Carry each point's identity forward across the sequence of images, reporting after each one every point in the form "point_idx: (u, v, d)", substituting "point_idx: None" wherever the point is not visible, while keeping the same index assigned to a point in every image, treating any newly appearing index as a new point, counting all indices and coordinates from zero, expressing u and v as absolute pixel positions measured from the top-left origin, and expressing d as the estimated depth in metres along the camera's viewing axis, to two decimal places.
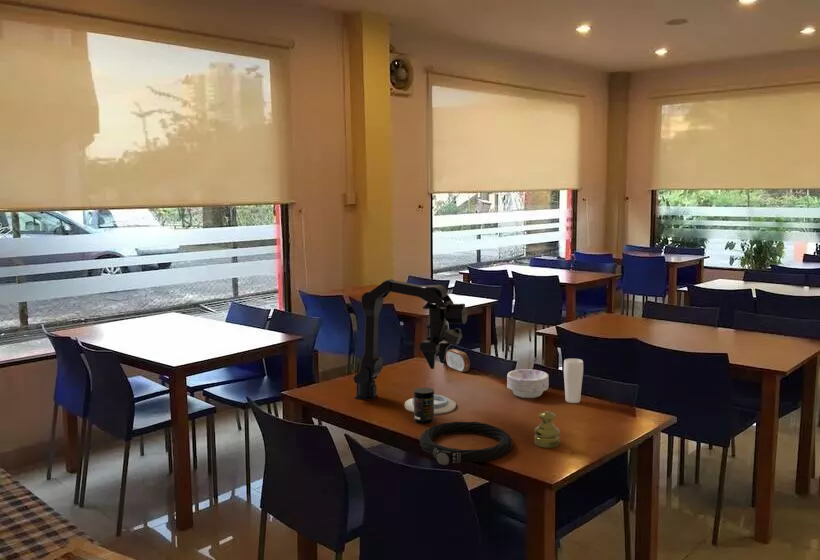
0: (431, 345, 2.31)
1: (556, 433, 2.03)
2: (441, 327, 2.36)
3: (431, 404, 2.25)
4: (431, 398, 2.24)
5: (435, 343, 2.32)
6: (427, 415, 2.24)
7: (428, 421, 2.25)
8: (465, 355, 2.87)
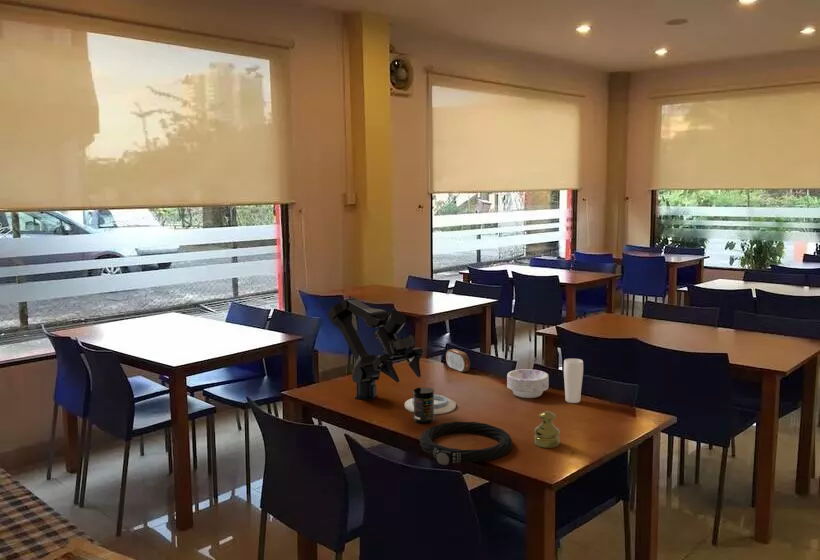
0: (377, 358, 2.30)
1: (556, 433, 2.03)
2: (389, 341, 2.36)
3: (431, 404, 2.25)
4: (431, 398, 2.24)
5: None
6: (427, 415, 2.24)
7: (428, 421, 2.25)
8: (465, 355, 2.87)
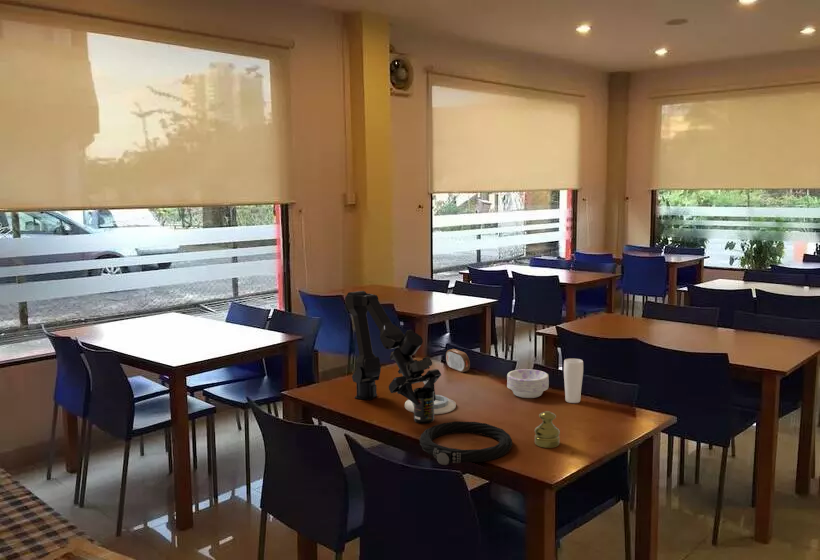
0: (393, 380, 2.23)
1: (556, 433, 2.03)
2: (405, 363, 2.29)
3: (431, 404, 2.25)
4: (431, 398, 2.24)
5: (398, 377, 2.24)
6: (427, 415, 2.24)
7: (428, 421, 2.25)
8: (465, 355, 2.87)
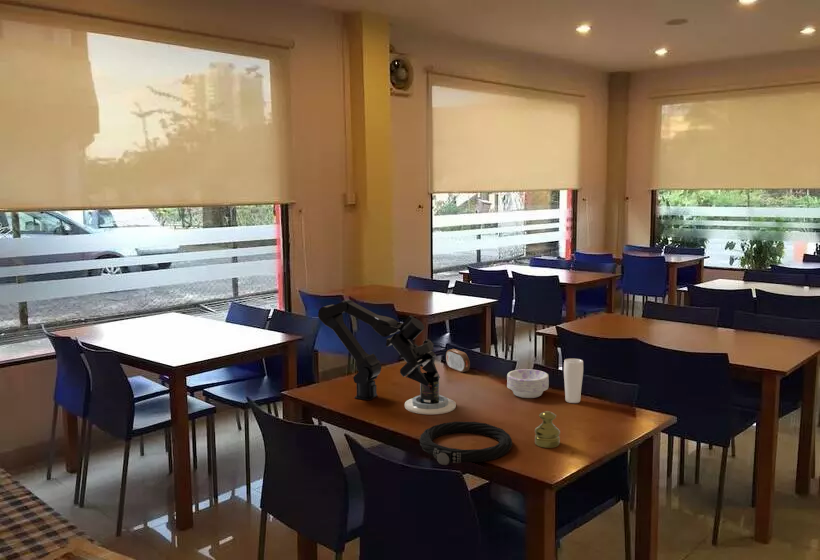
0: (407, 364, 2.34)
1: (556, 433, 2.03)
2: (409, 347, 2.41)
3: (438, 386, 2.41)
4: (438, 381, 2.41)
5: (410, 361, 2.35)
6: (436, 397, 2.40)
7: None
8: (465, 355, 2.87)
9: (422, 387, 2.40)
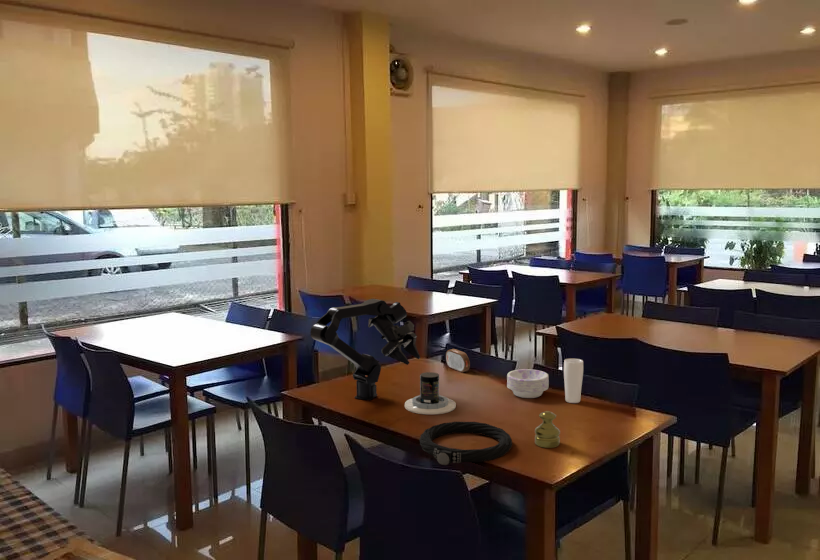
0: (389, 344, 2.45)
1: (556, 433, 2.03)
2: (390, 328, 2.52)
3: (438, 386, 2.41)
4: (438, 381, 2.41)
5: (391, 340, 2.46)
6: (436, 397, 2.40)
7: None
8: (465, 355, 2.87)
9: (422, 387, 2.40)
